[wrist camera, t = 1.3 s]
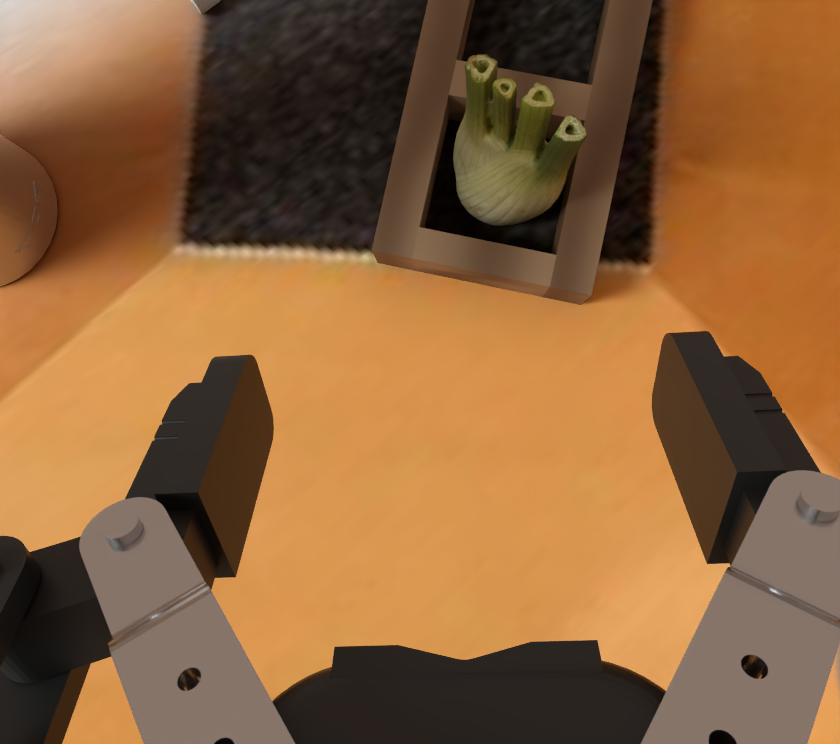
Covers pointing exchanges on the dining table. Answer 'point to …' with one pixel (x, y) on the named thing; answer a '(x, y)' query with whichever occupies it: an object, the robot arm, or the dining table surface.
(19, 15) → the dining table surface
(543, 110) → the fennel bulb
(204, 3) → the wrench
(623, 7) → the brown flat frame piece
